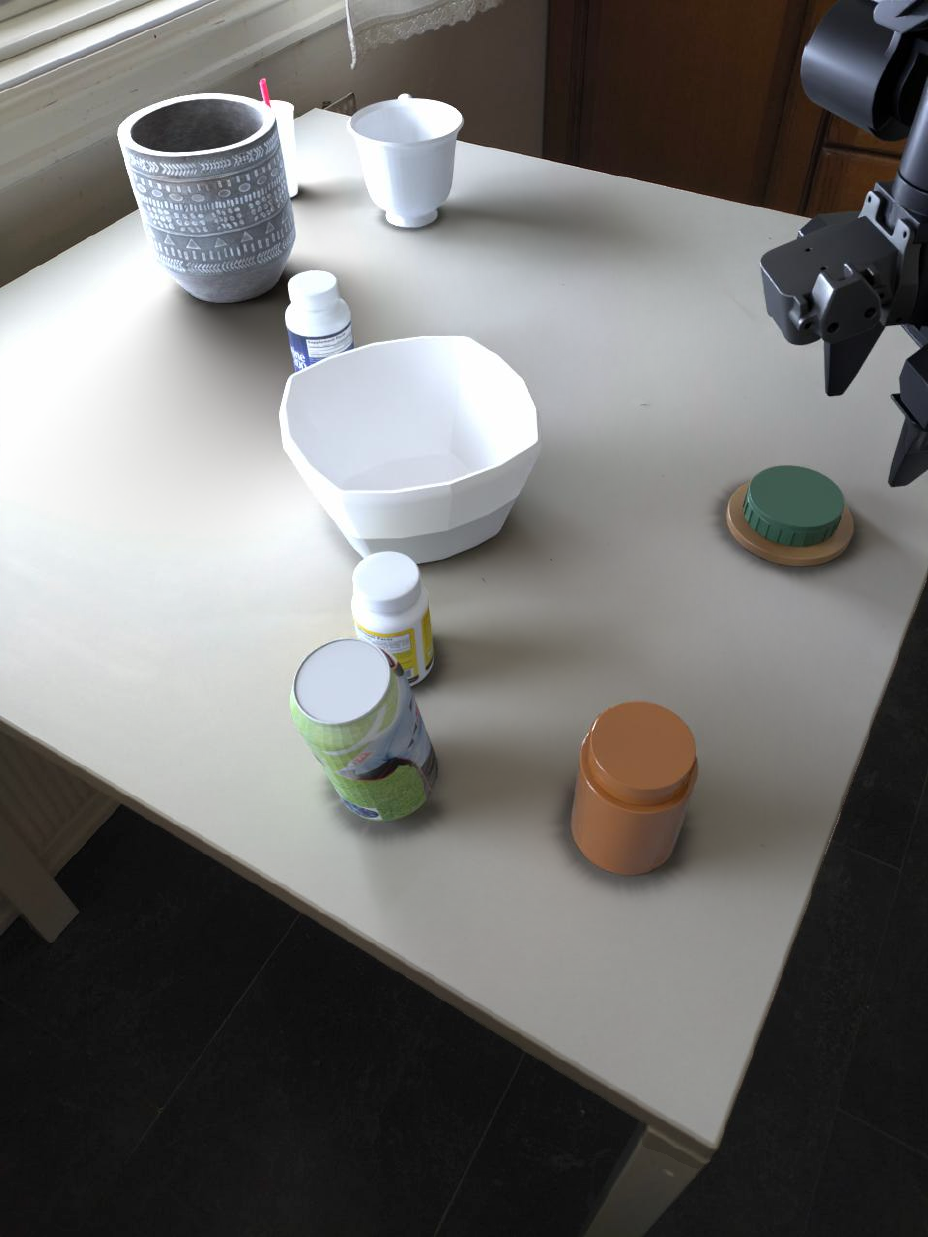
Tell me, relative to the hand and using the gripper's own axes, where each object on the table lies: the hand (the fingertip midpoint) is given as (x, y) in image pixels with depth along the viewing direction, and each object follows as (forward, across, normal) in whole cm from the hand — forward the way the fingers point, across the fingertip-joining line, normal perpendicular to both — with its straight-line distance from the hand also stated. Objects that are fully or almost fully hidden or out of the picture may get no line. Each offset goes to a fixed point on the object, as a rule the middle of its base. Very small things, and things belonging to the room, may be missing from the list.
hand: (863, 437), depth 55 cm
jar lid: (+9, -5, 0) cm, 10 cm away
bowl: (+11, -11, -28) cm, 32 cm away
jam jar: (+12, +18, -18) cm, 28 cm away
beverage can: (+12, +13, -32) cm, 37 cm away
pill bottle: (+11, -28, -34) cm, 45 cm away
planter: (+10, -48, -43) cm, 65 cm away
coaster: (+11, -5, 0) cm, 12 cm away
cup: (+10, -67, -38) cm, 78 cm away
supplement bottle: (+12, +4, -30) cm, 33 cm away
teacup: (+10, -60, -23) cm, 65 cm away
